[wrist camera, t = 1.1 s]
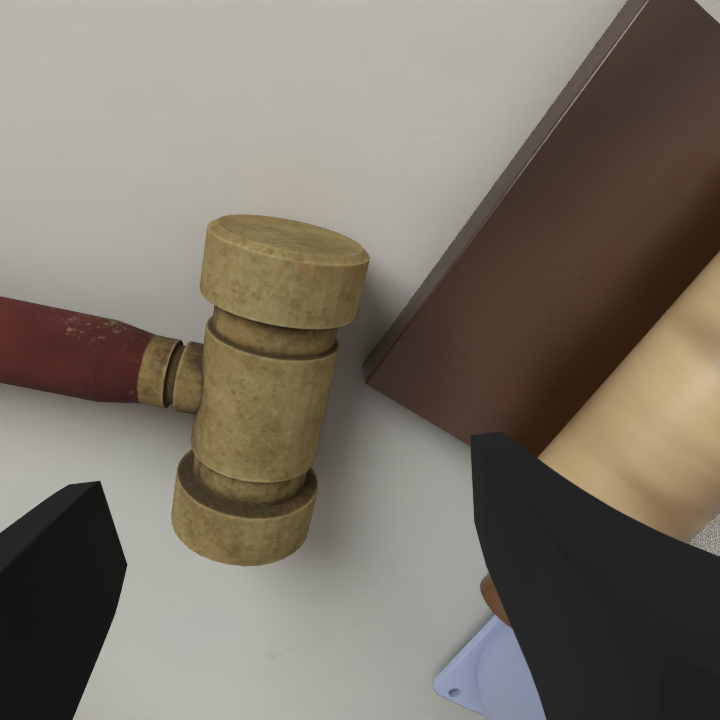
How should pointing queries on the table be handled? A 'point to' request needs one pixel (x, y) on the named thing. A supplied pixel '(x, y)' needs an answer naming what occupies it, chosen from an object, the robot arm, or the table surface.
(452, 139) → the table surface
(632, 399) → the rolling pin
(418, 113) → the table surface
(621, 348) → the pastry board
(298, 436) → the gavel
